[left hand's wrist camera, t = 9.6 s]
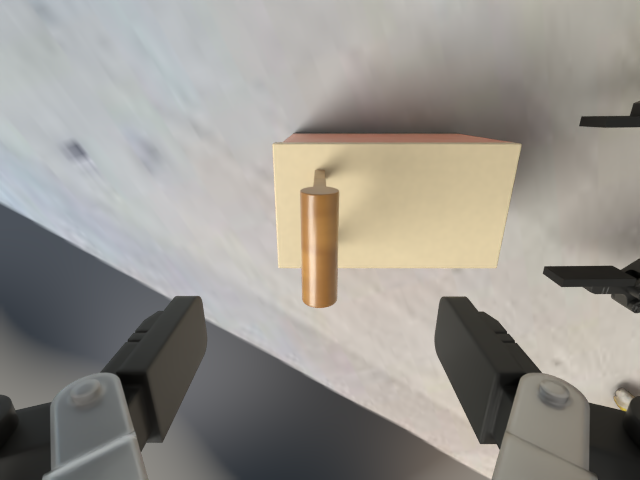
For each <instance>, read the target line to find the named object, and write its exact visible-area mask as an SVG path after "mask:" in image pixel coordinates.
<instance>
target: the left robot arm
mask: <svg viewBox="0 0 640 480" xmlns="http://www.w3.org/2000/svg"><path fill="white" fill-rule="evenodd" d="M206 347H207V332H206V324H205V317H204V310H203V303H202V299H201V297H200V296H176V297H174V299H173V300H172V301H171V302H170V304H169V305H168V306H167V307H166V309H165V310H164V311H158V312H156V313H155V314H153V315H152V316H150V317H149V318H147V319H145V320H144V321H143V322H142V324H141V325H140V326H139V327H138V328H137V330H136V331H135V333H133V334H132V335H131V337H130V338H129V339H128V342H126V343H125V344H124V345H123V346H122V347H121V348H120V350H119V351H118V352H117V353H116V354H115V356H114V357H113V358H112V359H111V360H110V361H109V363H108V364H107V365H106V366H105V368H104V369H103V370H102V371H101V372H100V373H96V374H92V375H88V376H85V377H83V378H80V379H78V380H76V381H74V382H72V383H71V384H69V385H68V386H66V387H65V388H64V389H62V390H61V391H60V392H59V393H58V394H57V395H56V396H55V398H54V399H53V401H52V402H50V403H46V404H41V405H37V406H32V407H28V408H24V409H20V410H15V408H14V406H13V404H12V401H11V399H10V398H9V397H7V396H4V395H0V480H148V477H147V473H146V469H145V466H144V462H143V459H142V455H141V451H142V449H143V447H144V446H145V444H146V443H162V442H163V440H164V438H165V436H166V434H167V432H168V430H169V428H170V425H171V423H172V421H173V419H174V417H175V415H176V413H177V411H178V409H179V407H180V405H181V403H182V400H183V398H184V396H185V394H186V392H187V390H188V388H189V386H190V384H191V382H192V380H193V377H194V375H195V373H196V371H197V369H198V367H199V365H200V363H201V361H202V359H203V356H204V354H205V351H206ZM435 349H436V353H437V355H438V358H439V360H440V362H441V364H442V366H443V368H444V370H445V372H446V374H447V376H448V378H449V380H450V382H451V385H452V387H453V389H454V391H455V393H456V395H457V397H458V399H459V401H460V403H461V405H462V407H463V409H464V412H465V414H466V416H467V418H468V420H469V422H470V424H471V426H472V428H473V430H474V432H475V434H476V436H477V438H478V441H479V443H480V444H497V445H498V447H499V449H500V451H499V455H498V458H497V462H496V466H495V469H494V473H493V476H492V480H640V396H638V397H635V398H633V399H632V400H631V401H630V404H629V406H628V408H627V411H622V410H618V409H614V408H609V407H605V406H601V405H596V404H592V403H589V402H588V401H587V399H586V398H585V396H584V395H583V394H582V393H581V392H580V391H579V390H578V389H577V388H575V387H574V386H572V385H571V384H569V383H568V382H566V381H564V380H562V379H560V378H557V377H555V376H552V375H548V374H544V373H542V372H541V371H540V370H539V369H538V367H537V366H536V365H535V364H534V363H533V362H532V360H531V359H530V358H529V357H528V356H527V355H526V353H525V352H524V351H523V350H522V349H521V348H520V346H519V345H518V344H517V343H515V340H514V339H513V338H512V337H511V336H510V335H509V334H507V331H506V330H505V329H504V328H503V326H502V325H501V324H500V323H499V322H498V321H497V320H496V319H494V318H493V317H491V316H490V315H488V314H486V313H485V312H478V310H477V309H476V308H475V307H474V305H473V304H472V303H471V302H470V300H469V299H468V298H467V297H442V298H441V299H440V303H439V309H438V316H437V323H436V330H435Z"/></svg>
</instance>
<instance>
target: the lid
mask: <svg viewBox="0 0 640 480" xmlns="http://www.w3.org/2000/svg"><path fill="white" fill-rule="evenodd" d="M521 146H522V144H520V143H514V142H275V143H274V144H273V165H274V186H275V206H276V227H277V248H278V267H279V268H302V300H303V302H304V303H305V304H306V305H308V306H311V307H315V308H324V307H329V306H331V305H333V304H334V303H335V302H336V301H337V280H338V268H497V263H498V259H499V254H500V249H501V244H502V239H503V234H504V229H505V224H506V219H507V215H508V210H509V205H510V200H511V195H512V190H513V185H514V180H515V175H516V171H517V166H518V161H519V156H520V151H521Z"/></svg>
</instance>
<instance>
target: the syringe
mask: <svg viewBox="0 0 640 480" xmlns="http://www.w3.org/2000/svg"><path fill="white" fill-rule="evenodd" d="M615 394H616V396H614V401H615V402H616V404H617V406H618V407H619V408H620V409H621V410H622V411H627V408H628V406H629V404H630V401H631V400H632V399H633V398H635V396H633V395H632V394H630V393H629V392H627V391H626V390H625V389H624V388H619V389H618V390H617V391H616V393H615Z"/></svg>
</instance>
